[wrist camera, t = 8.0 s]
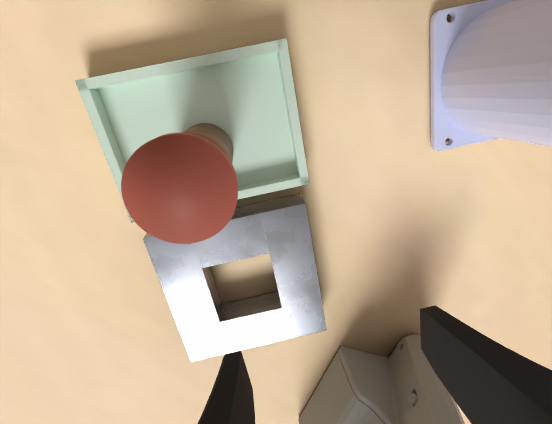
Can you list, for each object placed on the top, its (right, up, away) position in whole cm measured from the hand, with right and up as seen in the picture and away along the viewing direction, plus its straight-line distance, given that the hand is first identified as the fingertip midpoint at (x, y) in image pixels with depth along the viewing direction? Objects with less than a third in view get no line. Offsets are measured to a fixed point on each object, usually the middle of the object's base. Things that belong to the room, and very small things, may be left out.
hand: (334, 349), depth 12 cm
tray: (-7, +10, +7) cm, 14 cm away
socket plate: (-5, +1, +10) cm, 11 cm away
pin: (-6, +9, +7) cm, 13 cm away
